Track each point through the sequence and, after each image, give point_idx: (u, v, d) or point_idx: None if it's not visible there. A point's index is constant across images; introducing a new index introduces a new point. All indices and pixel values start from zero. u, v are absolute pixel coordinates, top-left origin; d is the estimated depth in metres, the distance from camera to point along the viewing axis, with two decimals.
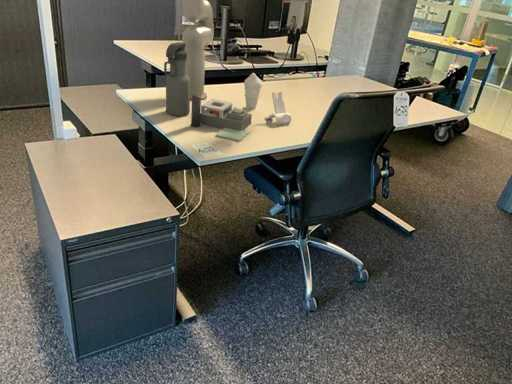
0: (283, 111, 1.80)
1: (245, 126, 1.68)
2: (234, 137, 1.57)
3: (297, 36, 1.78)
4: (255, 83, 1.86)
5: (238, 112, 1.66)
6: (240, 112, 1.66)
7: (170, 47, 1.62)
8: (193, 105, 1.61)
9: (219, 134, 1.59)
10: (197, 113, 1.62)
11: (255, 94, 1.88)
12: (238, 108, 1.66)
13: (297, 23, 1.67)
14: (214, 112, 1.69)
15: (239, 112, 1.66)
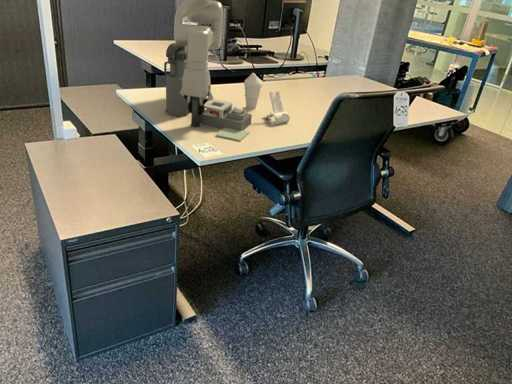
0: (281, 110, 1.81)
1: (245, 126, 1.68)
2: (234, 137, 1.57)
3: None
4: (255, 83, 1.86)
5: (238, 112, 1.66)
6: (240, 112, 1.66)
7: (170, 47, 1.62)
8: (193, 105, 1.61)
9: (219, 134, 1.59)
10: (197, 113, 1.62)
11: (255, 94, 1.88)
12: (238, 108, 1.66)
13: None
14: (214, 112, 1.69)
15: (239, 112, 1.66)
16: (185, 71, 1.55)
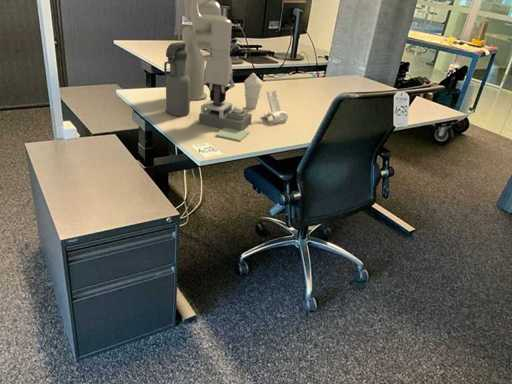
0: (278, 109, 1.82)
1: (245, 126, 1.68)
2: (234, 137, 1.57)
3: None
4: (255, 83, 1.86)
5: (238, 112, 1.66)
6: (240, 112, 1.66)
7: (170, 47, 1.62)
8: (215, 93, 1.65)
9: (219, 134, 1.59)
10: (219, 101, 1.67)
11: (255, 94, 1.88)
12: (238, 108, 1.66)
13: None
14: None
15: (239, 112, 1.66)
16: (208, 59, 1.60)
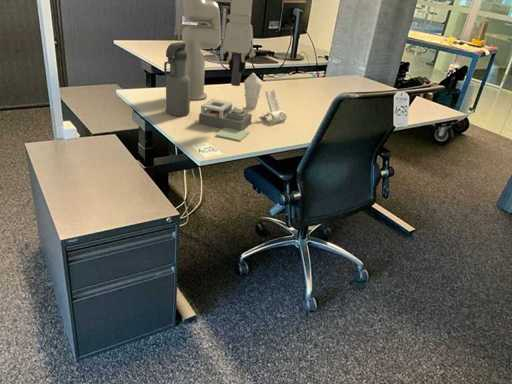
0: (277, 109, 1.82)
1: (245, 126, 1.68)
2: (234, 137, 1.57)
3: None
4: (255, 83, 1.86)
5: (238, 112, 1.66)
6: (240, 112, 1.66)
7: (170, 47, 1.62)
8: (234, 62, 1.58)
9: (219, 134, 1.59)
10: (238, 71, 1.59)
11: (255, 94, 1.88)
12: (238, 108, 1.66)
13: None
14: None
15: (239, 112, 1.66)
16: (228, 26, 1.52)
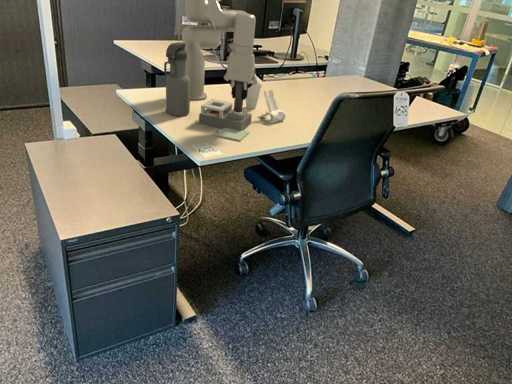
0: (276, 108, 1.82)
1: (245, 126, 1.68)
2: (234, 137, 1.57)
3: None
4: None
5: None
6: None
7: (170, 47, 1.62)
8: (237, 90, 1.62)
9: (219, 134, 1.59)
10: (240, 98, 1.63)
11: (255, 94, 1.88)
12: None
13: None
14: None
15: None
16: (231, 55, 1.56)
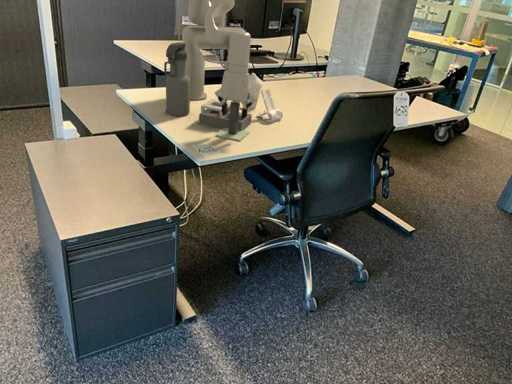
0: (273, 108, 1.83)
1: (245, 126, 1.68)
2: (234, 137, 1.57)
3: (226, 109, 1.58)
4: (255, 83, 1.86)
5: None
6: None
7: (170, 47, 1.62)
8: (232, 112, 1.56)
9: (219, 134, 1.59)
10: (235, 120, 1.57)
11: (255, 94, 1.88)
12: None
13: None
14: None
15: None
16: (225, 74, 1.50)
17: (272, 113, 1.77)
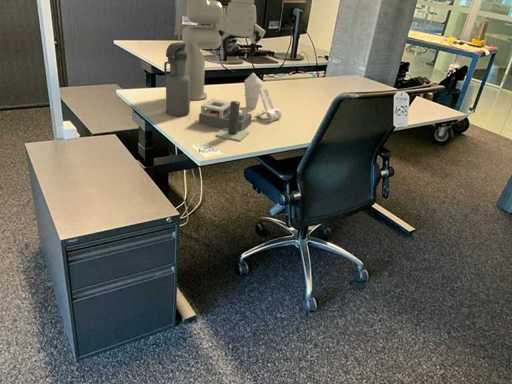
0: (271, 107, 1.83)
1: (245, 126, 1.68)
2: (234, 137, 1.57)
3: (227, 45, 1.48)
4: (255, 83, 1.86)
5: None
6: None
7: (170, 47, 1.62)
8: (232, 112, 1.56)
9: (219, 134, 1.59)
10: (235, 120, 1.57)
11: (255, 94, 1.88)
12: None
13: None
14: None
15: None
16: (229, 6, 1.39)
17: (271, 113, 1.78)
